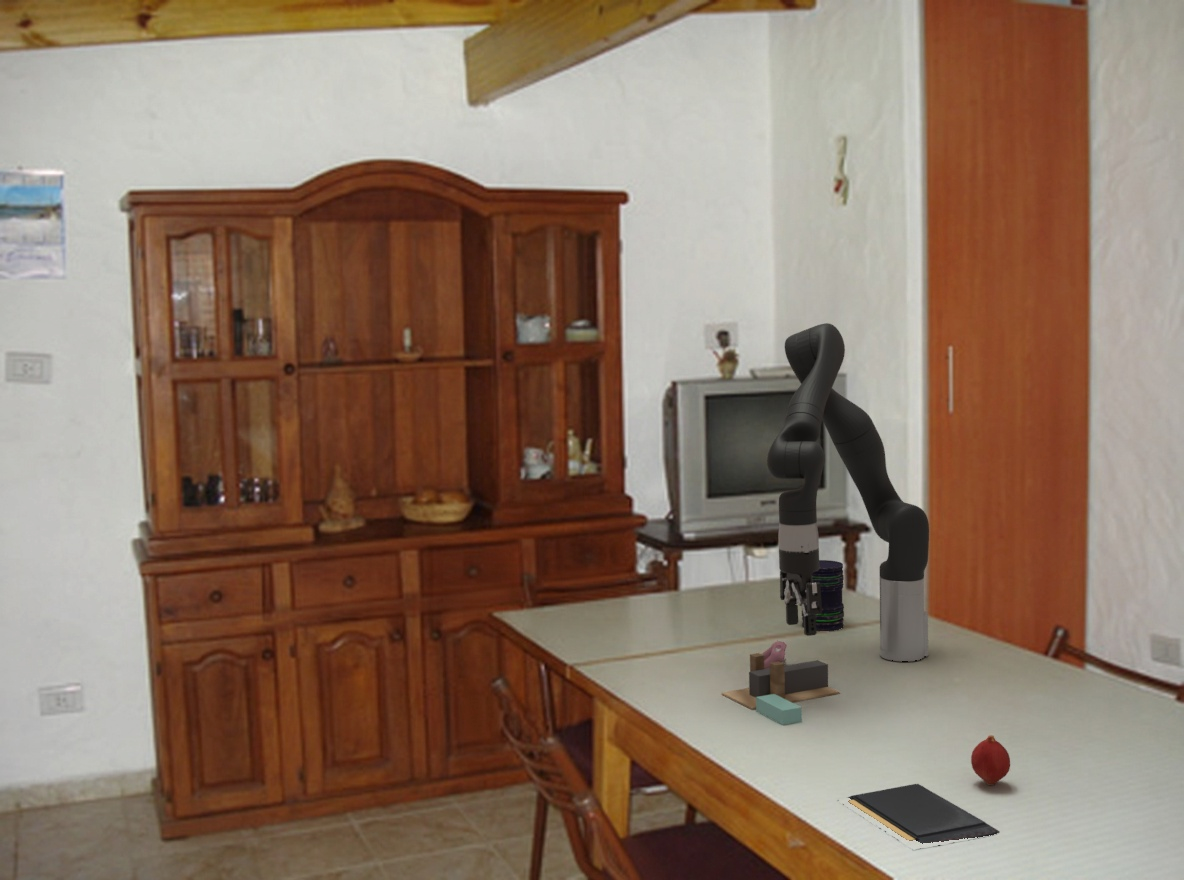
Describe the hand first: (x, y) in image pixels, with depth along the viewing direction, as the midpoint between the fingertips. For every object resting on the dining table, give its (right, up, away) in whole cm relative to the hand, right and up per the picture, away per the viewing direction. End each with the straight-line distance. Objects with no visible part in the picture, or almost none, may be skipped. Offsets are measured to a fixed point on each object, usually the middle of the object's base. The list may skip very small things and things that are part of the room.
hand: (801, 629), depth 236 cm
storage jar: (+15, -8, +56) cm, 58 cm away
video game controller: (-2, -12, +22) cm, 25 cm away
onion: (+22, -18, -44) cm, 52 cm away
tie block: (-6, -15, -8) cm, 18 cm away
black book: (+8, -20, -55) cm, 59 cm away
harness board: (-3, -13, +5) cm, 14 cm away
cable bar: (-1, -13, +6) cm, 14 cm away
